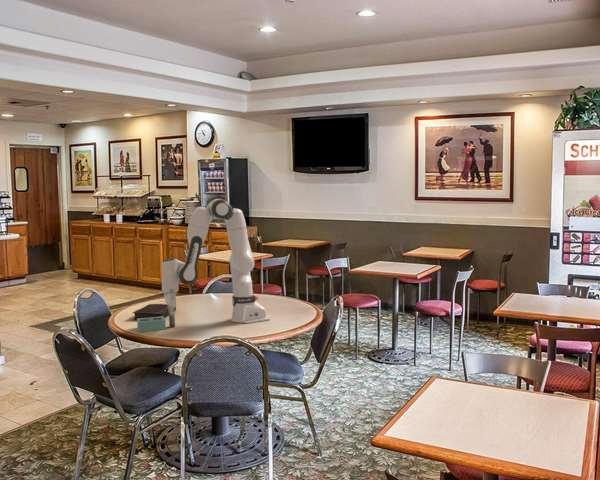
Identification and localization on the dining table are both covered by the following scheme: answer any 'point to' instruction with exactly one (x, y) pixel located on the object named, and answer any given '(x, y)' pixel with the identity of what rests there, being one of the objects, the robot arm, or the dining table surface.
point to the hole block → (151, 324)
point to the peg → (171, 319)
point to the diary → (152, 311)
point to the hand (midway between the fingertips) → (170, 312)
